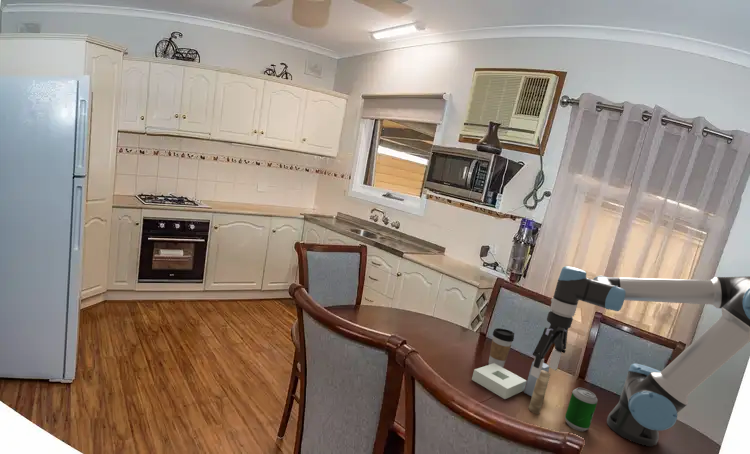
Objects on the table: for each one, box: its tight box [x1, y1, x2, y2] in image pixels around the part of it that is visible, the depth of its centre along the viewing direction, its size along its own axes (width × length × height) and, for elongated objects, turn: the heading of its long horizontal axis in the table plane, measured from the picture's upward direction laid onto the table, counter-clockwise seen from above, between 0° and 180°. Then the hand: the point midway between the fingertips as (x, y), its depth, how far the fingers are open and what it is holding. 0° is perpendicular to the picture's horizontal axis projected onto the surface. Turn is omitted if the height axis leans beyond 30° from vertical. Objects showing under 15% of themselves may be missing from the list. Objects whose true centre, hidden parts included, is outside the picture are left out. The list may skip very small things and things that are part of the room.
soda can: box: [564, 387, 599, 432], centre depth 143 cm, size 8×8×12 cm
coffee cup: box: [488, 327, 515, 368], centre depth 177 cm, size 8×8×15 cm
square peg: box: [523, 361, 550, 398], centre depth 159 cm, size 5×5×12 cm
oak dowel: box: [528, 370, 551, 415], centre depth 147 cm, size 4×4×14 cm
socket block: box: [471, 363, 528, 400], centre depth 161 cm, size 14×14×4 cm
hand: (543, 372), depth 146 cm, fingers open, 13 cm apart
